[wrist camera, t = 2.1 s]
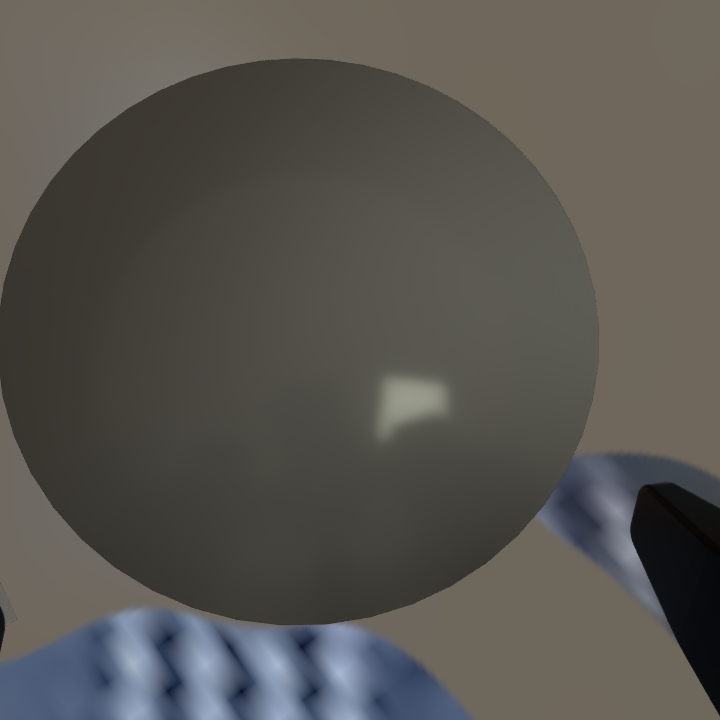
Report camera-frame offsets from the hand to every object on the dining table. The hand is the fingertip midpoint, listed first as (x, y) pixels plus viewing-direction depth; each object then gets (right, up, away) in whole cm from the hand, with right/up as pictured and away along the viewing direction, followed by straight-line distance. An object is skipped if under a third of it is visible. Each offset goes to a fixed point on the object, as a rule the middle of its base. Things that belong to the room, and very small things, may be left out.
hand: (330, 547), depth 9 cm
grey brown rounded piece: (-1, 0, +10) cm, 10 cm away
